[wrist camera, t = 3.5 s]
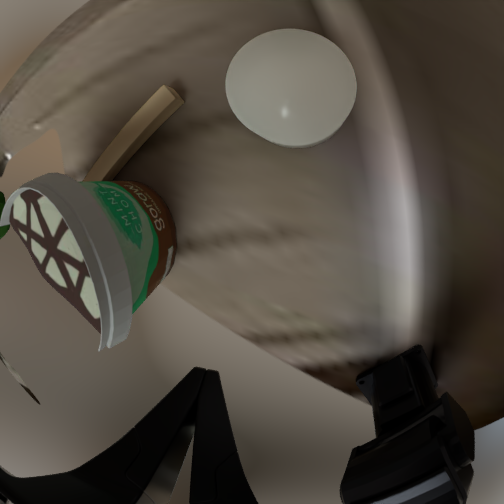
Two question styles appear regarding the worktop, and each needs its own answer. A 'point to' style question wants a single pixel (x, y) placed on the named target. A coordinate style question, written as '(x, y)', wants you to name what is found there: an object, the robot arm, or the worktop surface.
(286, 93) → the white domed puck
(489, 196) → the worktop surface
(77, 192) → the food container
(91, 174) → the oak strip
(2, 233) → the bell pepper
